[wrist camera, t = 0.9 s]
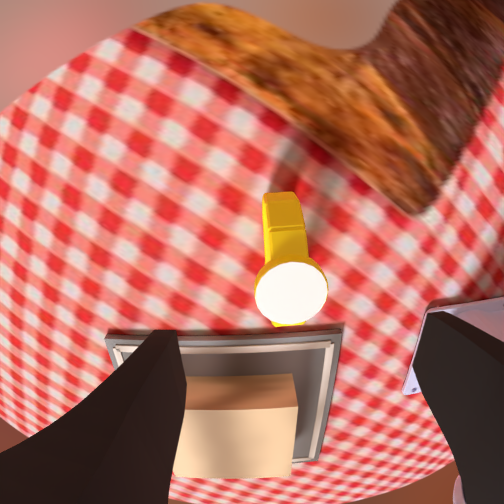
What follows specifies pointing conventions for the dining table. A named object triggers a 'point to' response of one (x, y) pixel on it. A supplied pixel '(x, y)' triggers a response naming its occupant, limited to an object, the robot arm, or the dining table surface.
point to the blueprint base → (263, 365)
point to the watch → (287, 265)
